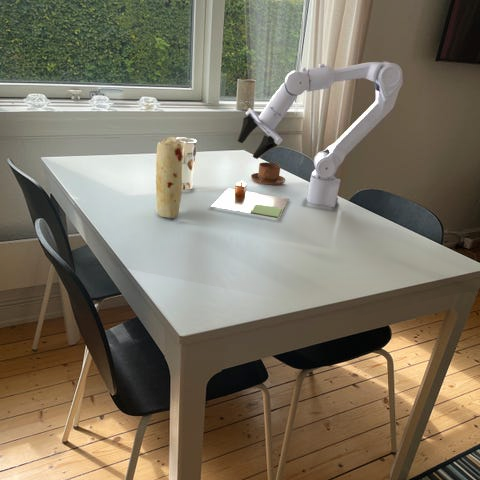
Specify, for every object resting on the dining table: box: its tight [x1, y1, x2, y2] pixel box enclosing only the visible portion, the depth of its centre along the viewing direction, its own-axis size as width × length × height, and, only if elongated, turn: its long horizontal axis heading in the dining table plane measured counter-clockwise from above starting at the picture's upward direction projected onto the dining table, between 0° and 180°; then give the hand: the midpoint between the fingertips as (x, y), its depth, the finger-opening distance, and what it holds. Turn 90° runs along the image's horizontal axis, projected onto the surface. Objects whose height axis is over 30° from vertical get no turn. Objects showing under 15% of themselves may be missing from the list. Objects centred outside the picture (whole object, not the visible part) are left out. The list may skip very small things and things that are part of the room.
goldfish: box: [234, 180, 248, 196], centre depth 150 cm, size 6×3×4 cm, turn 167°
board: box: [210, 188, 290, 219], centre depth 146 cm, size 20×20×1 cm
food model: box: [155, 136, 183, 220], centre depth 127 cm, size 10×7×20 cm
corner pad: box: [249, 204, 282, 218], centre depth 140 cm, size 8×8×1 cm
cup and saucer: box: [250, 162, 286, 186], centre depth 167 cm, size 12×12×6 cm
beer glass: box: [175, 137, 197, 190], centre depth 149 cm, size 7×7×15 cm
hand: (247, 149), depth 146 cm, fingers open, 7 cm apart
